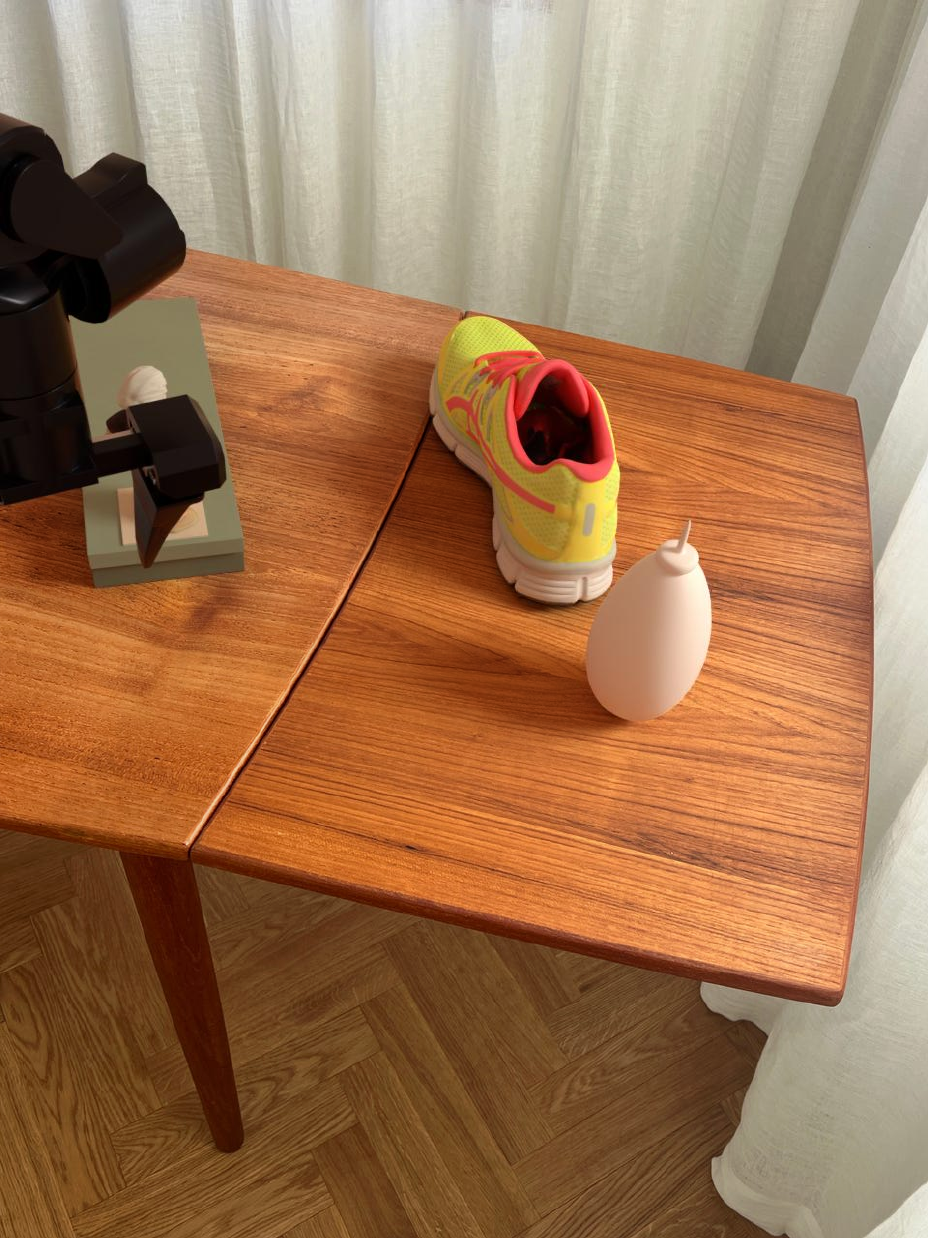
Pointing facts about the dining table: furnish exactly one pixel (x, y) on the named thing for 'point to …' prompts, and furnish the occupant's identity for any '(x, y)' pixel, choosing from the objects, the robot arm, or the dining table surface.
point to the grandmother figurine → (137, 390)
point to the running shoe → (532, 458)
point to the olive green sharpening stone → (208, 547)
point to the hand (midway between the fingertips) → (68, 583)
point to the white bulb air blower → (651, 633)
